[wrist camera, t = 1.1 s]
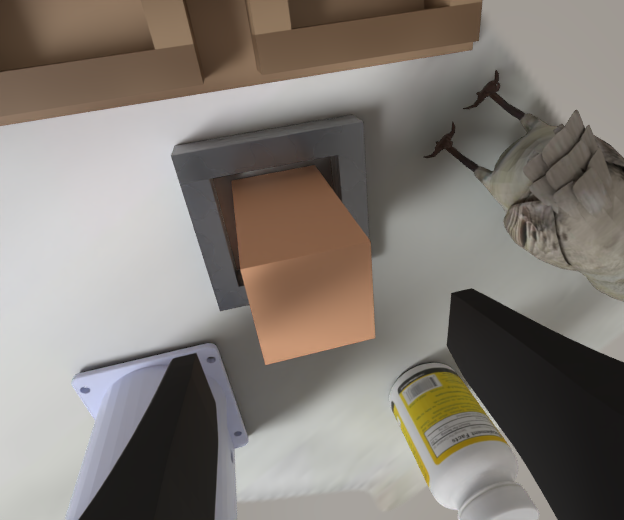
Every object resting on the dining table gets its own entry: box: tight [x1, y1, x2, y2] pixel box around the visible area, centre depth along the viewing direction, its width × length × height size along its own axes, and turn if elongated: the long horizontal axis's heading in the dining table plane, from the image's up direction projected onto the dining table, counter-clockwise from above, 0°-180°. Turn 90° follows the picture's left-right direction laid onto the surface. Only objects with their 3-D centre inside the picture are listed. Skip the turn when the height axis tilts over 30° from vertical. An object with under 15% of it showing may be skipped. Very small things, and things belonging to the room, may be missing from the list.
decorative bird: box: [424, 70, 624, 301], centre depth 19 cm, size 5×16×7 cm, turn 52°
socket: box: [171, 115, 369, 311], centre depth 19 cm, size 8×8×2 cm
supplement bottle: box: [389, 363, 539, 520], centre depth 25 cm, size 5×5×10 cm
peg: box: [231, 165, 375, 365], centre depth 16 cm, size 4×4×8 cm
